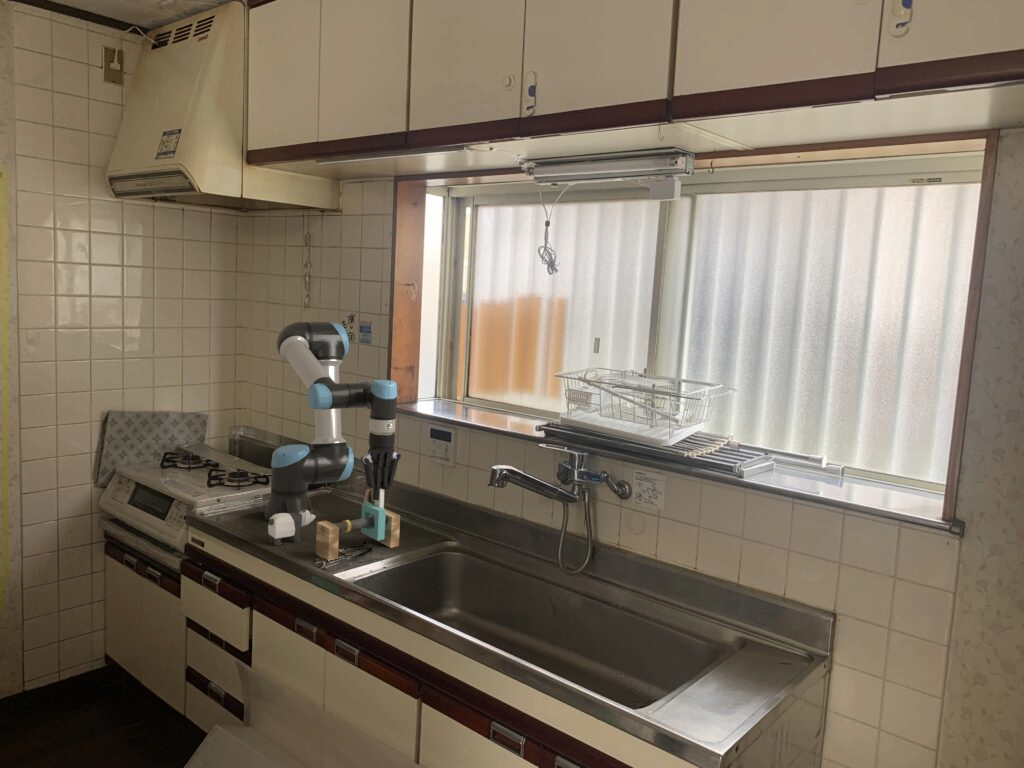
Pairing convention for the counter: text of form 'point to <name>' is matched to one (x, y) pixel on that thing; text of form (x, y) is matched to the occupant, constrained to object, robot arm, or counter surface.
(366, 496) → the toy
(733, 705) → the counter surface
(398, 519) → the pipe stand
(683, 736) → the counter surface
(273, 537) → the giant panda
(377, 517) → the collar
